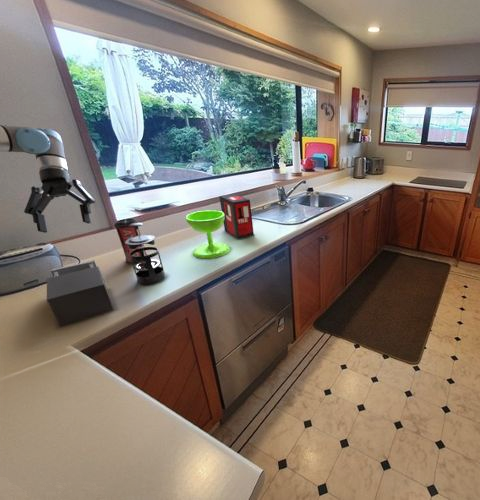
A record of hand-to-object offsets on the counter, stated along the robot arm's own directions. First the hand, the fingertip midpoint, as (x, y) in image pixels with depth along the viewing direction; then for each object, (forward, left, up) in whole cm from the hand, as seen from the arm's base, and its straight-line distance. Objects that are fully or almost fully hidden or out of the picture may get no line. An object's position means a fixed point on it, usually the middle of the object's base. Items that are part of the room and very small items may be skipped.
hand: (65, 227), depth 100 cm
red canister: (+12, +15, -22) cm, 29 cm away
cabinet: (+10, -20, -21) cm, 31 cm away
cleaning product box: (+52, +42, -22) cm, 70 cm away
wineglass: (+42, +19, -22) cm, 51 cm away
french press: (+24, -4, -22) cm, 32 cm away
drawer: (+4, -11, -20) cm, 24 cm away
